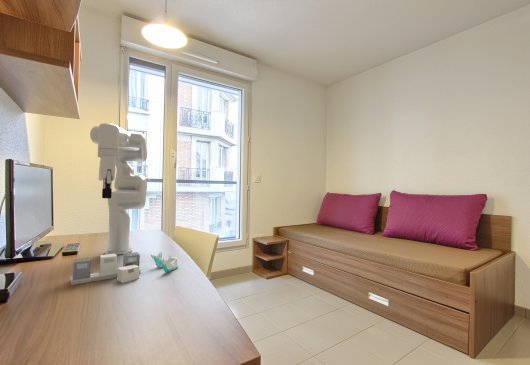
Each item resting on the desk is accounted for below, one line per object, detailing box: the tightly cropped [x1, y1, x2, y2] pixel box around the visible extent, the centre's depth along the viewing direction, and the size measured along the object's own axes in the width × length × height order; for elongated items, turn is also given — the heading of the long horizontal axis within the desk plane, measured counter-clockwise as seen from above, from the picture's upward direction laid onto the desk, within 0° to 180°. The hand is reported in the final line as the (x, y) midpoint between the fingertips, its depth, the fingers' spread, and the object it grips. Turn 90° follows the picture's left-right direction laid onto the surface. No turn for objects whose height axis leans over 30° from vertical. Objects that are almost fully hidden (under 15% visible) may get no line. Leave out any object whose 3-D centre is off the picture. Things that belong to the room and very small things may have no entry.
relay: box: [116, 264, 140, 284], centre depth 97 cm, size 4×6×4 cm
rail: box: [70, 251, 142, 286], centre depth 98 cm, size 5×22×8 cm, turn 127°
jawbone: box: [150, 250, 179, 273], centre depth 110 cm, size 12×8×9 cm, turn 45°
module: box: [99, 254, 118, 276], centre depth 98 cm, size 5×5×6 cm
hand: (106, 198), depth 108 cm, fingers closed
